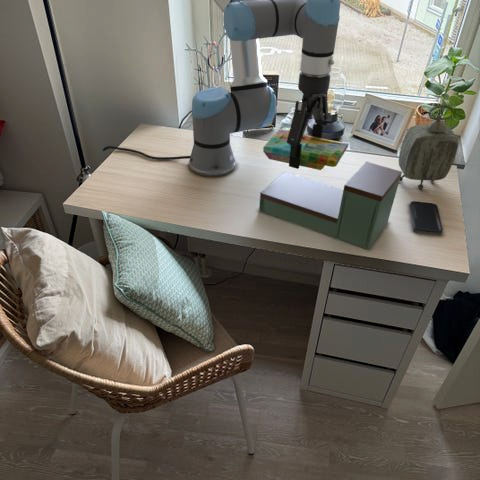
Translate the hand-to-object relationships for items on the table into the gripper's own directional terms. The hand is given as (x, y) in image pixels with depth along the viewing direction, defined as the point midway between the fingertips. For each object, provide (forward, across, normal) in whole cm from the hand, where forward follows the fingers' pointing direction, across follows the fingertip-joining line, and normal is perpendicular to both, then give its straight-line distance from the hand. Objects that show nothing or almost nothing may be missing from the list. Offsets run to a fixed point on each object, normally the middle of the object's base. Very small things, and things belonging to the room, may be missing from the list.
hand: (304, 157), depth 127 cm
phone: (+16, +15, -33) cm, 40 cm away
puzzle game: (0, 0, 0) cm, 0 cm away
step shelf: (+16, 0, -8) cm, 18 cm away
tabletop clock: (+16, +33, -26) cm, 45 cm away
